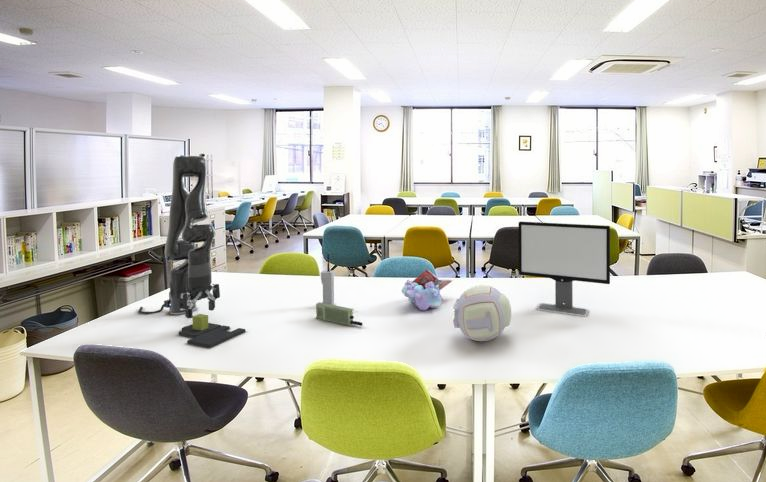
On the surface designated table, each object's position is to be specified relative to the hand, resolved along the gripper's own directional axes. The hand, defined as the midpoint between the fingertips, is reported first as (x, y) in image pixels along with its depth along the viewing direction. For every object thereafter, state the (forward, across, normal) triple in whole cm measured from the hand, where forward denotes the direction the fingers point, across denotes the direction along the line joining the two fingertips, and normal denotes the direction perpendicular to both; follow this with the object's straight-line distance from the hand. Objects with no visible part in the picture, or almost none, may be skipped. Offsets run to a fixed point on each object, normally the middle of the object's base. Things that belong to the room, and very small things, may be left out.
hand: (200, 314), depth 148 cm
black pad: (+7, 0, -2) cm, 7 cm away
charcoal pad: (+7, +2, +12) cm, 14 cm away
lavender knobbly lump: (+8, -54, +74) cm, 92 cm away
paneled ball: (+9, -28, +111) cm, 114 cm away
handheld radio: (+8, -24, +48) cm, 54 cm away
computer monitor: (+9, -66, +138) cm, 153 cm away
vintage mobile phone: (+8, -38, +30) cm, 49 cm away
